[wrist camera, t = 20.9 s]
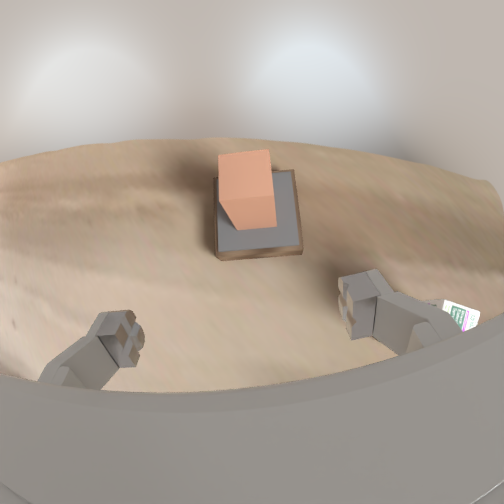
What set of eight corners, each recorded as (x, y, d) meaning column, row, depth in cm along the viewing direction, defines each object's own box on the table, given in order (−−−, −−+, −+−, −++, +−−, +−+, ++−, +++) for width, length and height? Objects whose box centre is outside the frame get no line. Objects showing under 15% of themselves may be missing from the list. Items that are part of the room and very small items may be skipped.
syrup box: (389, 301, 35) (442, 296, 20) (422, 312, 34) (482, 310, 19) (377, 341, 34) (425, 357, 20) (411, 350, 33) (468, 366, 19)
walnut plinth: (221, 261, 38) (214, 255, 35) (219, 188, 41) (213, 176, 37) (301, 254, 37) (303, 248, 33) (293, 180, 40) (293, 168, 36)
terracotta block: (237, 230, 35) (219, 201, 25) (235, 193, 36) (218, 155, 26) (277, 226, 34) (273, 195, 25) (273, 190, 35) (268, 149, 26)
